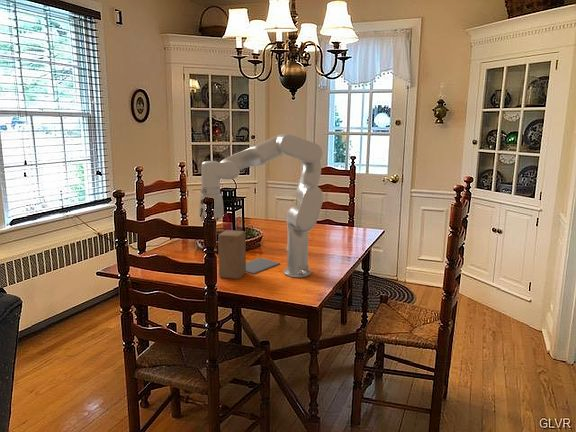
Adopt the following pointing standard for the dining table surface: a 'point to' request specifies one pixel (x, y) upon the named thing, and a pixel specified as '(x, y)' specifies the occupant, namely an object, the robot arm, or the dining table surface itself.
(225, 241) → the wooden block
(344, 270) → the dining table surface
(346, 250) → the dining table surface
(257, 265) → the mat
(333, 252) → the dining table surface
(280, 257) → the dining table surface
